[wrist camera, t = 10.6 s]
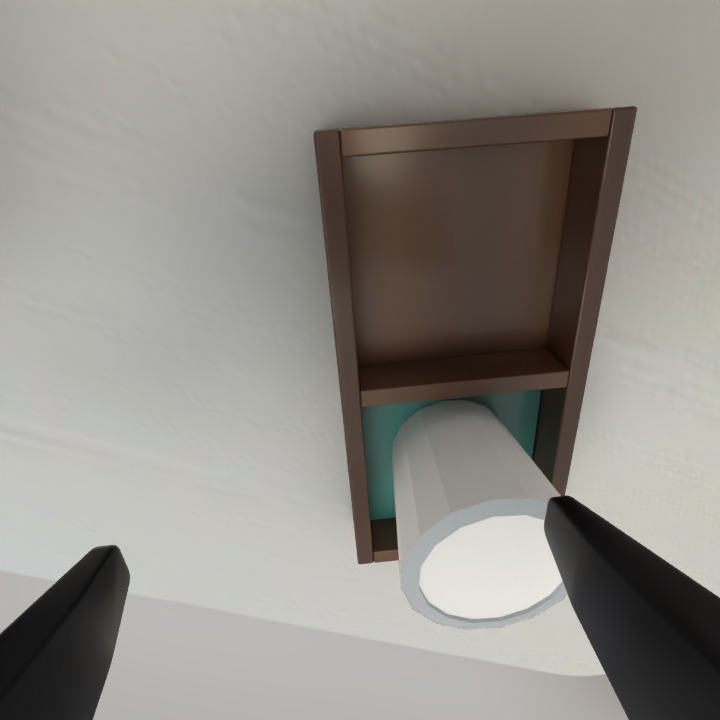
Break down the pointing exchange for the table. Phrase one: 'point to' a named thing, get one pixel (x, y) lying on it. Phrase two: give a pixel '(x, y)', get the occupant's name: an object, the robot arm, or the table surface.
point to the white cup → (471, 520)
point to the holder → (466, 281)
